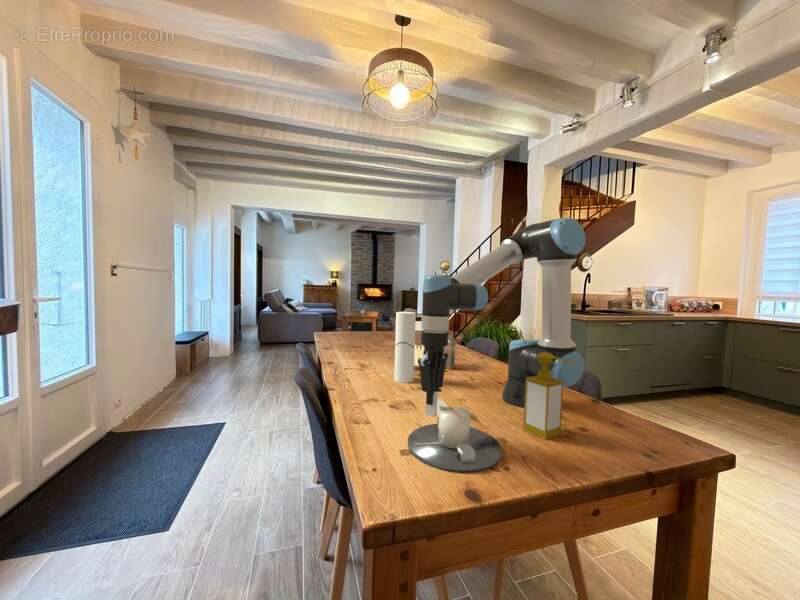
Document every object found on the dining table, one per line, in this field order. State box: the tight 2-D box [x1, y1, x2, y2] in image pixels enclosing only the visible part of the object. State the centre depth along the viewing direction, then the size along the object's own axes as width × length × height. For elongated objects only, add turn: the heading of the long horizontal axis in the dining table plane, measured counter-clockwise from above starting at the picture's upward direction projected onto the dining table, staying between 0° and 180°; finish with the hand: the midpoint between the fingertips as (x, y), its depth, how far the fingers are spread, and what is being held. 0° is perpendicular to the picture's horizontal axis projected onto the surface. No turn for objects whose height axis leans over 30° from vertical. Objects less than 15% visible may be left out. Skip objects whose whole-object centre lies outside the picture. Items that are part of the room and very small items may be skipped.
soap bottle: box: [522, 352, 576, 441], centre depth 93 cm, size 7×13×24 cm, turn 32°
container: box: [393, 311, 417, 384], centre depth 145 cm, size 9×9×30 cm
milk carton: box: [443, 333, 456, 371], centre depth 172 cm, size 11×11×19 cm
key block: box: [437, 398, 471, 455], centre depth 87 cm, size 22×8×8 cm, turn 14°
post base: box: [407, 416, 503, 473], centre depth 85 cm, size 24×24×4 cm
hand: (431, 414), depth 91 cm, fingers closed
